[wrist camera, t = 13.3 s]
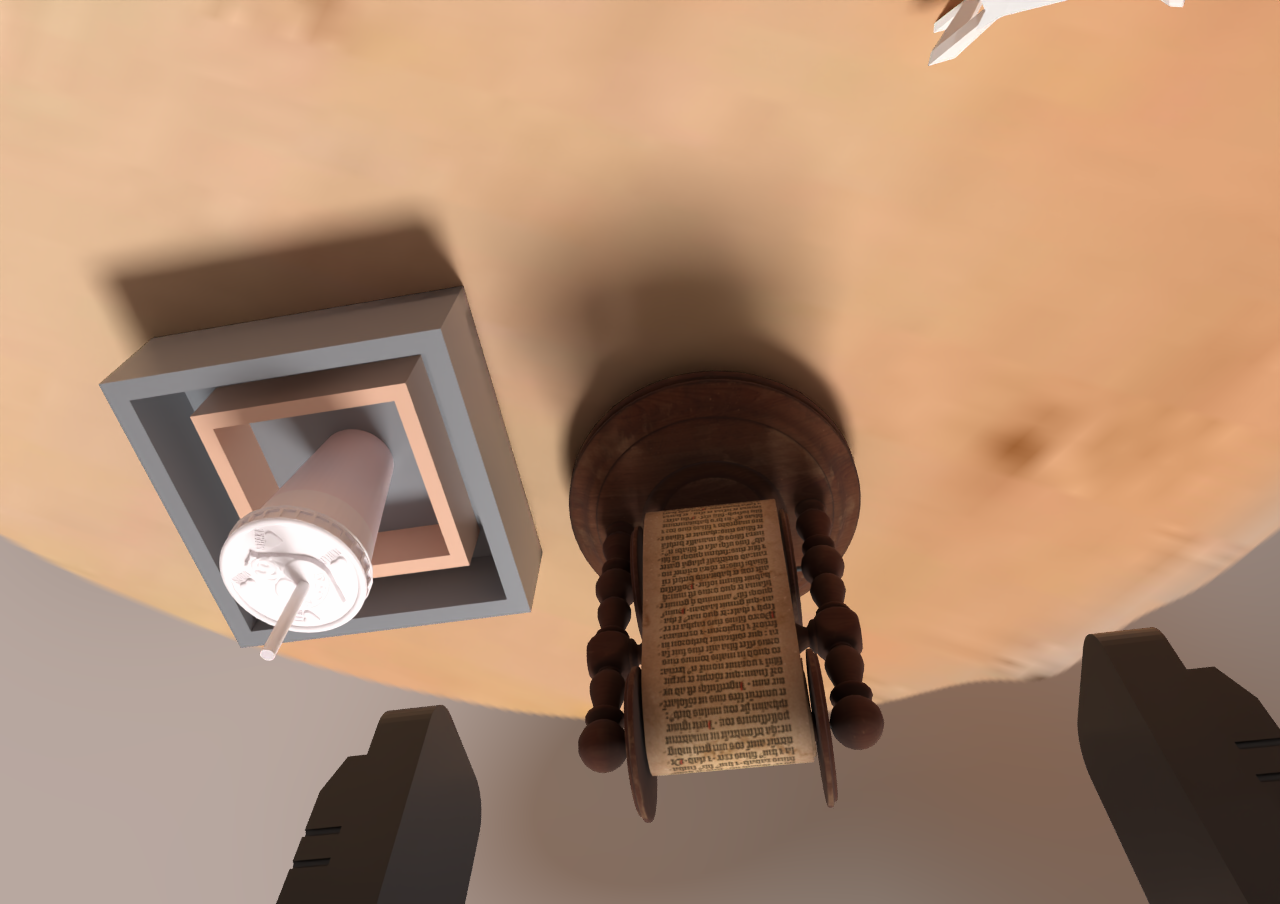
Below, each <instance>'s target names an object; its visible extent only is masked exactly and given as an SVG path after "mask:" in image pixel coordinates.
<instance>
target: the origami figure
mask: <svg viewBox="0 0 1280 904" xmlns="http://www.w3.org/2000/svg"><path fill="white" fill-rule="evenodd" d="M1062 1H1066V0H964V1H962V2H961V3H960V4H958V5H957V6H956V7H955V8H953V9H952V10H951V11H949V12H948V13H947V14H946V15H944V16H943V17H942V18H940V19H939V20H938V21H937V22H935V23H934V33H935V32H939V31H943V30H945V32H944V33H943V35H942V36H941V38H940V39H939V41H938V42H937V44H936V45H935V47H934V49H933V50H932V52H931V55H930V60H929V64H928V66H930V65H933V64H937V63H940V62H943V61H947V60H950V59H954V58H955V57H957V56H958V55H959V54H960V53H961V52H962V51H963V50H964V49H965V48H966V47H967V46H968V45H969V44H971V43H972V42H973V41H974V40H975V39H976V38H977V37H978V36H979V35H980V34H981V33H982V32H984V31H985V30H986V29H987V28H988V27H989V26H990V25H991V24H992V23H993V22H995V21H996V20H997V19H999V18H1001V17H1002V16H1006V15H1010V14H1014V13H1018V12H1022V11H1026V10H1030V9H1034V8H1038V7H1042V6H1046V5H1050V4H1054V3H1058V2H1062ZM1161 1H1162V2H1164V3H1165V4H1167V5H1168V6H1174V7H1183V5H1184V2H1185V0H1161ZM982 4H983V6H984V10H982V11H981V12H980V13H979V14H977V13H978V11H979V10H980V8H981V6H982Z"/></svg>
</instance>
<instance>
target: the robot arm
mask: <svg viewBox="0 0 1280 904" xmlns="http://www.w3.org/2000/svg"><path fill="white" fill-rule="evenodd" d="M1078 736H1079V742H1080V747H1081V752H1082V755H1083V759H1084V762H1085V765H1086V768H1087V770H1088V773H1089V775H1090V778H1091V780H1092V782H1093V784H1094V786H1095V788H1096V791H1097V793H1098V795H1099V797H1100V799H1101V801H1102V803H1103V806H1104V808H1105V810H1106V812H1107V814H1108V816H1109V818H1110V821H1111V823H1112V825H1113V827H1114V829H1115V831H1116V833H1117V835H1118V837H1119V839H1120V842H1121V844H1122V846H1123V848H1124V850H1125V853H1126V854H1127V857H1128V859H1129V861H1130V863H1131V865H1132V867H1133V869H1134V872H1135V874H1136V876H1137V878H1138V880H1139V882H1140V884H1141V887H1142V889H1143V891H1144V893H1145V895H1146V897H1147V900H1148V902H1149V904H1280V729H1279V727H1278V726H1277V725H1276V723H1275V722H1274V720H1273V719H1272V718H1271V716H1270V715H1269V714H1268V712H1267V711H1266V709H1265V708H1264V707H1263V705H1262V704H1261V702H1260V701H1259V700H1258V698H1257V697H1255V696H1253V695H1252V694H1251V693H1250V692H1248V691H1247V690H1246V689H1244V688H1243V687H1241V686H1240V685H1239V684H1237V683H1236V682H1235V681H1233V680H1232V679H1230V678H1229V677H1228V676H1226V675H1225V674H1224V673H1222V672H1221V671H1219V670H1218V669H1217V668H1215V667H1208V668H1207V667H1206V668H1197V669H1186V668H1185V666H1184V665H1183V663H1182V662H1181V660H1180V659H1179V657H1178V655H1177V654H1176V652H1175V651H1174V649H1173V648H1172V646H1171V645H1170V643H1169V642H1168V640H1167V639H1166V637H1165V636H1164V635H1163V634H1162V633H1161V632H1160V630H1158V629H1157V628H1154V627H1150V628H1142V629H1132V630H1123V631H1114V632H1106V633H1097V634H1089V635H1087V636H1086V638H1085V641H1084V646H1083V657H1082V670H1081V683H1080V695H1079V708H1078ZM480 825H481V798H480V791H479V786H478V782H477V780H476V777H475V774H474V772H473V769H472V767H471V764H470V762H469V759H468V757H467V754H466V752H465V749H464V747H463V745H462V742H461V740H460V737H459V735H458V732H457V730H456V728H455V725H454V722H453V720H452V718H451V715H450V713H449V711H448V710H447V708H446V707H445V706H443V705H436V706H427V707H419V708H410V709H401V710H392V711H387V712H385V713H384V714H383V715H382V717H381V718H380V720H379V723H378V725H377V728H376V731H375V734H374V737H373V739H372V742H371V745H370V748H369V751H368V754H367V755H359V756H350V757H347V759H346V760H345V761H344V762H343V764H342V765H341V766H340V767H339V769H338V770H337V771H336V772H335V774H334V775H333V776H332V777H331V779H330V780H329V781H328V782H327V783H326V785H325V786H324V787H323V788H322V790H321V791H320V793H319V795H318V798H317V800H316V803H315V806H314V808H313V811H312V813H311V816H310V818H309V821H308V824H307V826H306V829H305V831H306V835H305V837H302V839H301V841H300V844H299V847H298V849H297V852H296V854H295V857H294V859H293V863H294V865H293V869H290V870H289V872H288V875H287V877H286V880H285V882H284V885H283V888H282V890H281V893H280V895H279V898H278V900H277V903H276V904H465V900H466V896H467V891H468V886H469V881H470V876H471V871H472V866H473V861H474V857H475V852H476V847H477V842H478V837H479V832H480Z"/></svg>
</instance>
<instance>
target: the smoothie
mask: <svg viewBox="0 0 1280 904" xmlns="http://www.w3.org/2000/svg"><path fill="white" fill-rule="evenodd" d="M393 468H394V462H393V457H392V454H391V452H390V450H389V449H388V447H387V446H386V445H385V443H384V442H383V441H381V440H380V439H379V438H378V437H376V436H375V435H373V434H371V433H368V432H366V431H362V430H357V429H347V430H342V431H339V432H336V433H334V434H333V435H332V436H330V437H329V438H328V439H327V440H326V441H325V442H324V443H323V444H322V445H321V447H320V448H319V449H318V450H317V451H316V452H315V453H314V454H313V455H312V456H311V457H310V458H309V459H308V460H307V461H306V462H305V463H304V464H303V465H302V466H301V467H300V468H299V469H298V470H297V471H296V473H295V474H294V475H293V476H292V477H291V478H290V479H289V480H288V481H287V482H286V483H285V484H284V485H283V486H282V487H281V488H280V489H279V490H278V491H277V492H276V493H275V494H274V495H273V496H272V497H271V498H270V500H268V501H267V502H266V503H265V504H264V505H263V506H262V507H261V509H258V510H255V511H252V512H250V513H249V514H247V515H246V516H244V517H243V518H242V519H240V520H239V521H238V522H237V523H236V524H235V526H234V527H233V529H232V530H231V531H230V533H229V535H228V538H227V540H226V541H225V543H224V545H223V547H222V550H221V554H220V561H219V564H220V572H221V576H222V579H223V582H224V584H225V586H226V588H227V590H228V591H229V593H230V594H231V596H232V597H233V598H234V599H235V601H236V602H237V603H238V604H239V605H240V606H242V607H243V608H244V609H245V610H246V611H248V612H249V613H250V614H252V615H253V616H255V617H256V618H258V619H260V620H262V621H264V622H266V623H267V624H270V625H272V626H275V627H274V628H273V630H272V632H271V634H270V636H269V638H268V640H267V641H266V643H265V645H264V647H263V649H262V651H261V653H260V655H261V657H262V658H263V659H265V660H273V659H274V657H275V655H276V654H277V652H278V650H279V648H280V646H281V644H282V642H283V640H284V638H285V636H286V634H287V632H288V630H289V631H295V632H308V633H311V632H322V631H327V630H331V629H334V628H337V627H339V626H341V625H343V624H345V623H347V622H348V621H350V620H351V619H352V618H353V617H354V616H355V615H356V614H357V613H358V612H359V610H360V609H361V607H362V605H363V603H364V601H365V599H366V598H367V597H368V595H369V592H370V589H371V586H372V584H373V567H372V564H371V560H372V556H373V551H374V547H375V542H376V538H377V534H378V530H379V526H380V522H381V518H382V514H383V510H384V506H385V501H386V497H387V493H388V489H389V485H390V481H391V477H392V473H393Z"/></svg>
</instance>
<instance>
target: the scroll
mask: <svg viewBox="0 0 1280 904" xmlns="http://www.w3.org/2000/svg"><path fill="white" fill-rule="evenodd" d="M569 511H570V519H571V525H572V529H573V532H574V535H575V538H576V541H577V543H578V545H579V548H580V550H581V551H582V553H583V555H584V557H585V558H586V560H587V561H588V563H589V564H590V565H591V567H592V568H593V569H594V571H595V572H596V573H597V574H598V575H599V576H600V577H599V579H598V581H597V583H596V596H597V598H598V600H599V602H600V603H601V604H600V606H599V608H598V620H599V623H600V626H601V629H600V630H598V632H597V634H596V635H595V636H594V637H593V638H591V640H590V641H589V643H588V645H587V666H588V671H589V675H590V677H591V678H592V681H591V683H590V696H591V700H592V703H593V708H592V709H590V710H589V711H588V713H587V715H586V716H585V723H586V725H587V726H586V728H585V729H584V730H583V732H582V734H581V735H580V737H579V741H578V746H579V748H578V749H579V755H580V757H581V759H582V761H583V762H584V764H585V765H586V766H587V767H589V768H590V769H591V770H593V771H596V772H599V773H607V772H611V771H613V770H615V769H616V768H618V767H620V766H621V764H623V762H624V761H625V759H626V757H627V765H628V772H629V779H630V785H631V790H632V795H633V799H634V803H635V806H636V809H637V812H638V814H639V815H640V816H641V817H642V818H643V820H644V821H645V822H647V823H649V822H652V821H653V820H654V816H655V812H656V804H657V776H660V775H672V774H684V773H695V772H706V771H717V770H729V769H740V768H751V767H762V766H774V765H785V764H796V763H808V762H814V757H816V755H817V752H818V758H819V765H820V770H821V777H822V782H823V788H824V793H825V798H826V803H827V805H828V807H830V808H831V807H833V806H834V802H835V801H837V798H838V793H837V780H836V771H835V762H834V754H833V745H832V738H831V731H830V728H831V729H832V732H833V734H834V736H835V738H836V739H837V740H838V741H839V742H840V743H842V744H843V745H844V746H846V747H848V748H851V749H854V750H862V749H867V748H869V747H871V746H873V745H874V744H875V743H876V742H877V741H878V740H879V739H880V737H881V735H882V732H883V727H884V719H883V716H882V714H881V711H880V709H879V707H878V706H877V705H876V704H875V703H874V702H873V701H872V696H873V694H872V691H871V688H870V687H868V686H867V685H866V684H865V683H862V678H863V672H864V662H863V659H862V657H861V655H860V653H861V652H862V649H863V648H862V635H861V628H860V623H859V619H858V616H857V614H856V613H855V612H853V611H852V610H850V608H849V607H848V606H847V605H846V604H844V603H843V602H844V597H845V592H846V589H845V586H844V583H843V581H842V580H841V577H842V576H843V572H844V562H843V559H842V556H843V555H844V553H845V552H846V550H847V548H848V546H849V544H850V542H851V540H852V538H853V535H854V532H855V530H856V526H857V522H858V518H859V512H860V484H859V478H858V474H857V470H856V467H855V464H854V460H853V457H852V454H851V452H850V449H849V446H848V445H847V443H846V441H845V439H844V437H843V435H842V434H841V432H840V431H839V429H838V428H837V426H836V425H835V424H834V422H833V421H832V420H831V419H830V418H829V417H828V415H827V414H826V413H824V412H823V411H822V410H821V409H820V408H819V407H818V406H817V405H816V404H814V403H813V402H812V401H810V400H809V399H808V398H806V397H805V396H804V395H803V394H802V393H800V392H798V391H796V390H793V389H791V388H789V387H787V386H785V385H783V384H780V383H778V382H775V381H772V380H770V379H767V378H763V377H759V376H756V375H751V374H745V373H740V372H728V371H705V372H694V373H688V374H683V375H678V376H674V377H671V378H667V379H664V380H661V381H658V382H656V383H653V384H650V385H648V386H646V387H644V388H642V389H640V390H638V391H636V392H634V393H633V394H631V395H630V396H628V397H626V398H625V399H623V400H622V401H621V402H619V403H618V404H617V405H615V406H614V407H613V408H612V409H611V410H610V411H609V412H607V413H606V414H605V415H604V416H603V417H602V418H601V419H600V421H599V422H598V423H597V424H596V425H595V426H594V428H593V429H592V431H591V432H590V433H589V435H588V436H587V438H586V440H585V442H584V443H583V445H582V447H581V449H580V452H579V454H578V456H577V459H576V462H575V466H574V469H573V474H572V480H571V487H570V494H569ZM808 591H810V593H811V596H812V599H813V601H814V602H815V603H816V605H817V606H818V607H819V609H818V610H817V611H816V616H815V617H814V619H811V620H810V621H809V624H808V626H807V627H803V624H802V611H801V602H800V597H801V596H802V595H804V594H805V593H807V592H808ZM633 602H634V606H635V612H636V618H637V623H638V627H639V631H640V635H641V638H642V643H641V644H640V645H637V644H636V642H635V641H634V639H629V635H628V633H627V632H626V631H625V629H626V627H627V625H628V623H629V621H630V619H631V608H630V605H631V604H632V603H633ZM808 647H810V648H811V649H806V648H808ZM805 649H806V665H807V676H808V685H809V693H810V701H811V708H810V701H809V695H808V689H807V683H806V678H805V673H804V671H803V662H802V658H800V653H801V652H802V651H804V650H805ZM813 652H814V653H813ZM817 654H818V655H819V656H820V657H821V658H822V659H824V660H825V670H826V672H827V675H828V677H829V678H830V680H831V682H832V683H833V685H834V686H835V687H834V689H833V690H832V691H831V694H830V701H831V704H832V705H833V706H834V707H833V709H832V712H831V717H830V722H829V717H828V710H827V704H826V697H825V691H824V686H823V680H822V674H821V669H820V664H819V660H818V656H817ZM640 664H641V665H642V666H641V669H640V667H639V665H640ZM623 701H624V713H623V712H622V711H621V710H620V708H621V705H622V703H623ZM811 709H812V712H811ZM623 728H624V729H623ZM624 730H625V731H624ZM815 741H816V743H815ZM816 745H817V752H816Z"/></svg>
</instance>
